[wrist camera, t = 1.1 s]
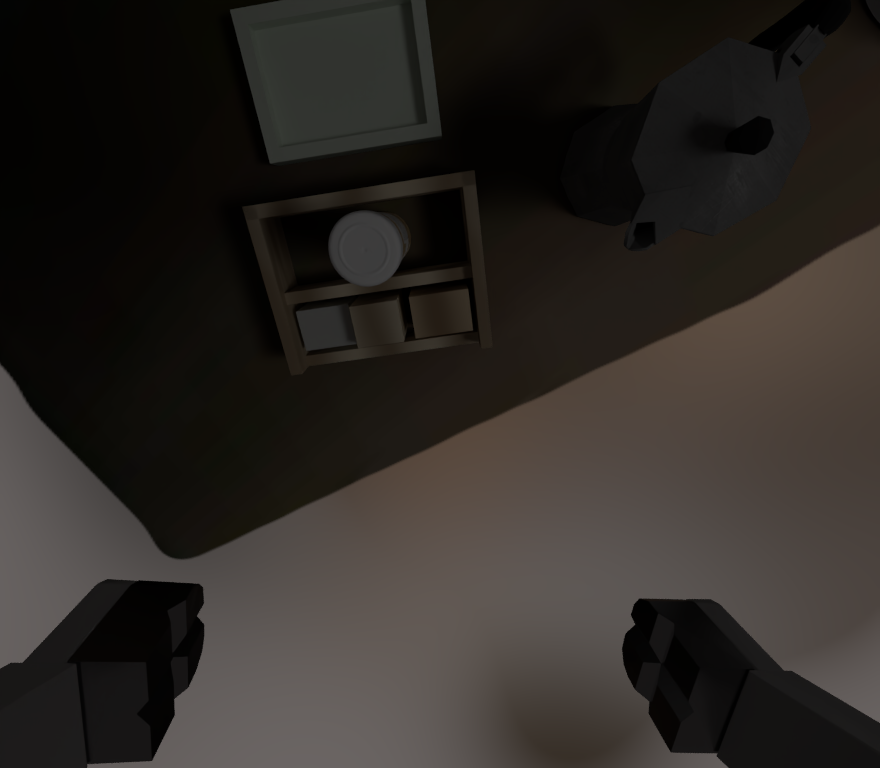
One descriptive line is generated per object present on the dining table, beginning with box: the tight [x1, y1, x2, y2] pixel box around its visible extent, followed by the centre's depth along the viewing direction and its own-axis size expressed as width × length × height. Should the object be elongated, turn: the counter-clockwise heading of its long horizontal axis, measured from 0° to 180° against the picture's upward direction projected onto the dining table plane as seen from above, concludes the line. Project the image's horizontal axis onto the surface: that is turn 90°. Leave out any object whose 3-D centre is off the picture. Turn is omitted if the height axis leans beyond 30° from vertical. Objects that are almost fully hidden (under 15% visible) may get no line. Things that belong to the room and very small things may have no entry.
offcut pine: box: [349, 289, 408, 348], centre depth 39 cm, size 4×4×6 cm
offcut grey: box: [296, 296, 357, 351], centre depth 40 cm, size 5×4×4 cm
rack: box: [242, 170, 493, 375], centre depth 38 cm, size 18×14×5 cm
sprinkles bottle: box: [328, 210, 411, 287], centre depth 33 cm, size 5×5×13 cm
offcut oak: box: [409, 280, 473, 338], centre depth 39 cm, size 5×4×5 cm
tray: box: [230, 0, 442, 166], centre depth 33 cm, size 14×10×2 cm
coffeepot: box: [560, 0, 851, 251], centre depth 28 cm, size 15×9×18 cm, turn 144°
